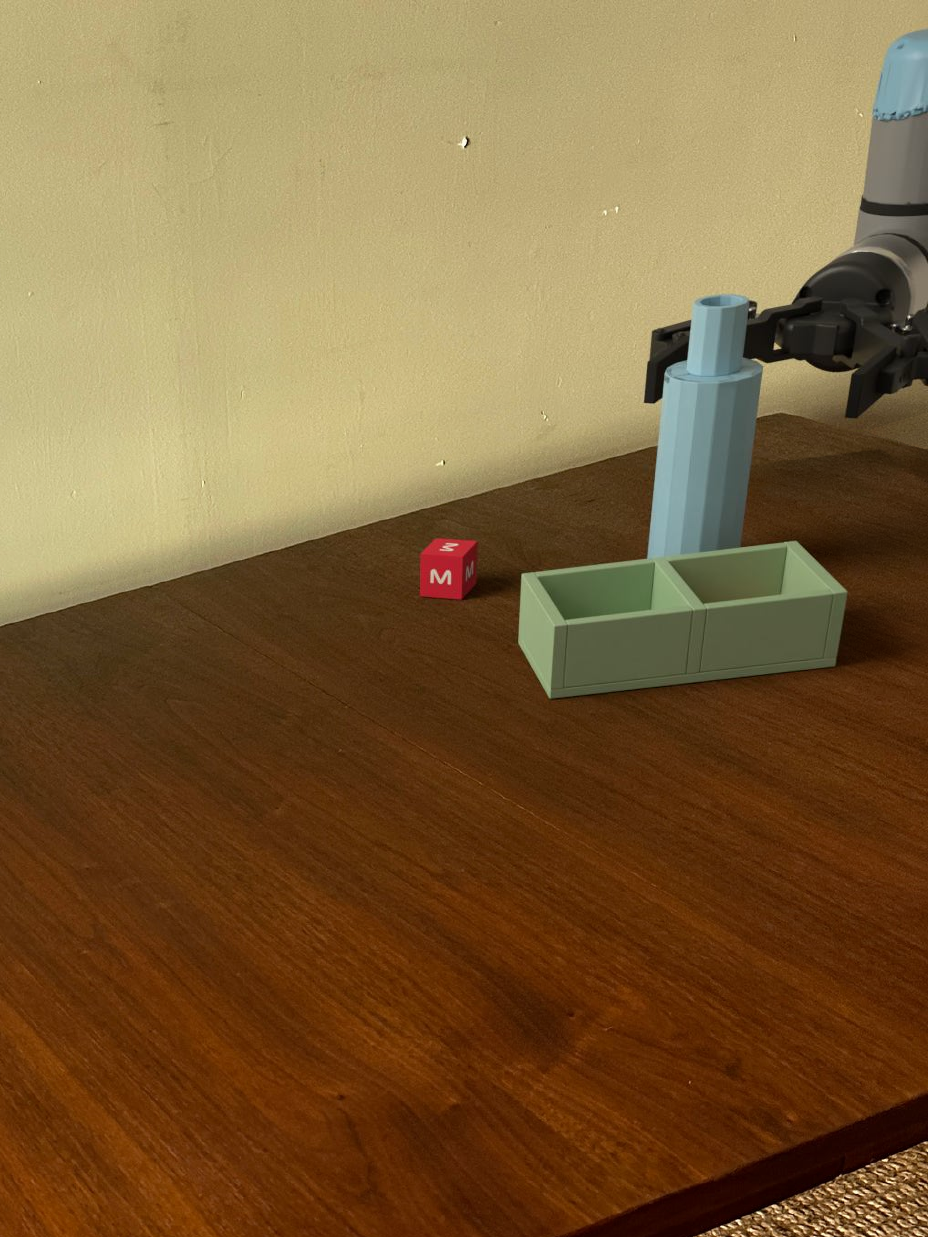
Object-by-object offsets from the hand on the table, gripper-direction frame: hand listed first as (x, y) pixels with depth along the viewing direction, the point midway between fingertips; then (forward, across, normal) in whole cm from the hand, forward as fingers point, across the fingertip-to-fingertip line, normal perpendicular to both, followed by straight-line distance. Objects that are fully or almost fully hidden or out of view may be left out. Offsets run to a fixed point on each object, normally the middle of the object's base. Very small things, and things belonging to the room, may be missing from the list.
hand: (749, 389), depth 118 cm
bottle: (+7, 0, -10) cm, 12 cm away
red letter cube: (+16, +14, -10) cm, 23 cm away
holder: (+20, -4, -10) cm, 23 cm away
